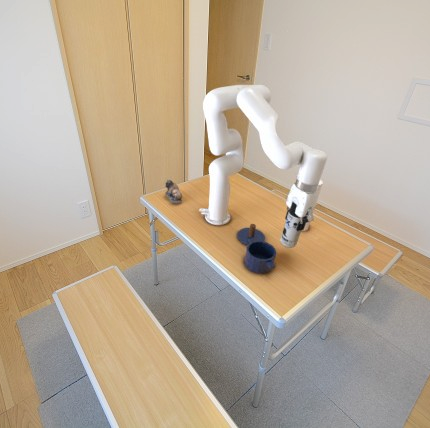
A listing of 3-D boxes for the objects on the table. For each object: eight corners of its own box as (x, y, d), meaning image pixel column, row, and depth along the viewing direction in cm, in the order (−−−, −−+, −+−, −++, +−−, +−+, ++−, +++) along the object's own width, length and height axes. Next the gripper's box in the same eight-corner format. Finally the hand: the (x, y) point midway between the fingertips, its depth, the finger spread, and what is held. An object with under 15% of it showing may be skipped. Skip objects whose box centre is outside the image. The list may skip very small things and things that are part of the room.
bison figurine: (185, 203, 148) (185, 186, 142) (173, 207, 144) (173, 190, 139) (173, 193, 156) (172, 177, 150) (162, 197, 152) (161, 180, 146)
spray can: (278, 237, 117) (289, 197, 105) (293, 237, 117) (306, 197, 106) (282, 248, 111) (295, 207, 100) (298, 248, 112) (313, 207, 100)
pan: (256, 281, 105) (259, 268, 101) (236, 252, 118) (238, 239, 114) (282, 274, 109) (286, 261, 105) (260, 246, 122) (263, 234, 118)
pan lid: (245, 249, 120) (247, 236, 116) (232, 232, 130) (234, 219, 126) (270, 243, 124) (272, 231, 120) (256, 227, 134) (258, 215, 130)
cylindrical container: (308, 231, 133) (323, 185, 119) (293, 229, 134) (306, 183, 120) (307, 223, 139) (321, 178, 125) (292, 220, 140) (305, 176, 126)
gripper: (283, 174, 104) (274, 213, 114) (313, 198, 91) (299, 240, 101) (300, 172, 106) (289, 210, 117) (331, 195, 93) (316, 236, 104)
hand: (294, 224), depth 109 cm, fingers closed on spray can, 6 cm apart
